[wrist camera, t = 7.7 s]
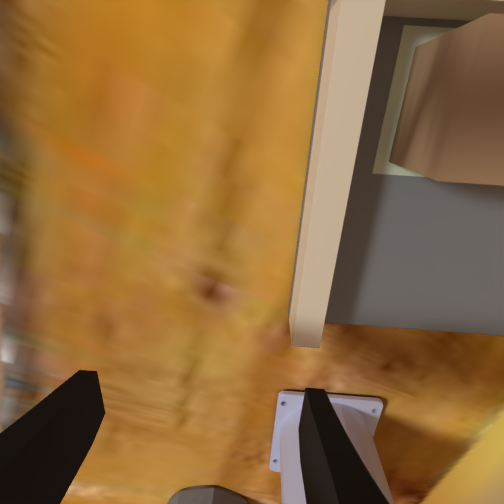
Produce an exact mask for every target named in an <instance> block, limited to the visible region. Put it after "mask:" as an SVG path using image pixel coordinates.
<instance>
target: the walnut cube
mask: <svg viewBox="0 0 504 504" xmlns="http://www.w3.org/2000/svg"><path fill="white" fill-rule="evenodd" d="M389 162H390V163H392V164H395V165H397V166H400V167H403V168H405V169H408V170H410V171H413V172H416V173H418V174H421V175H423V176H426V177H429V178H431V179H434V180H436V181H443V182H457V183H472V184H487V185H501V186H504V14H495V13H489V14H487V15H485V16H483V17H480V18H478V19H476V20H474V21H472V22H469V23H467V24H465V25H463V26H461V27H458V28H456V29H454V30H452V31H450V32H448V33H445V34H443V35H441V36H439V37H437V38H434V39H432V40H430V41H428V42H426V43H423V44H421V45H419V46H417V47H416V48H415V52H414V56H413V60H412V65H411V69H410V73H409V77H408V82H407V86H406V90H405V94H404V99H403V103H402V107H401V111H400V116H399V120H398V124H397V128H396V133H395V137H394V141H393V145H392V150H391V154H390V158H389Z"/></svg>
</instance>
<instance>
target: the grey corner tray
mask: <svg viewBox="0 0 504 504" xmlns="http://www.w3.org/2000/svg"><path fill="white" fill-rule="evenodd" d="M489 13H495V14H504V0H329V1H328V9H327V17H326V25H325V32H324V40H323V48H322V56H321V63H320V71H319V79H318V87H317V94H316V102H315V110H314V118H313V125H312V133H311V141H310V149H309V156H308V164H307V172H306V180H305V187H304V195H303V203H302V211H301V218H300V226H299V234H298V242H297V249H296V257H295V265H294V273H293V280H292V288H291V296H290V304H289V311H288V314H289V323H290V333H291V342H292V346H297V347H311V348H320V343H321V337H322V332H323V327H324V323H337V324H351V325H364V326H378V327H391V328H404V329H418V330H431V331H445V332H458V333H471V334H485V335H498V336H504V186H501V185H487V184H472V183H457V182H443V181H436V180H434V179H431V178H429V177H426V176H423V175H421V174H418V173H416V172H413V171H410V170H408V169H405V168H403V167H400V166H397V165H395V164H392V163H390V162H389V158H390V154H391V150H392V145H393V141H394V137H395V133H396V128H397V124H398V120H399V116H400V111H401V107H402V103H403V99H404V94H405V90H406V86H407V82H408V77H409V73H410V69H411V65H412V60H413V56H414V52H415V48H416V47H417V46H419V45H421V44H423V43H426V42H428V41H430V40H432V39H434V38H437V37H439V36H441V35H443V34H445V33H448V32H450V31H452V30H454V29H456V28H458V27H461V26H463V25H465V24H467V23H469V22H472V21H474V20H476V19H478V18H480V17H483V16H485V15H487V14H489Z"/></svg>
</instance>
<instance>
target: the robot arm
mask: <svg viewBox="0 0 504 504" xmlns="http://www.w3.org/2000/svg"><path fill="white" fill-rule="evenodd" d="M284 401H285V402H284ZM382 409H383V402H382V400H381V399H379V398H372V397H359V396H347V395H334V394H327V393H326V391H325V390H324V389H316V388H305V392H296V391H281V392H280V393H279V394H278V400H277V408H276V416H275V423H274V431H273V439H272V446H271V454H270V462H269V468H270V470H272V471H275V472H281V495H282V504H394V501H393V498H392V495H391V492H390V489H389V486H388V483H387V480H386V477H385V473H384V470H383V467H382V464H381V461H380V458H379V455H378V452H377V449H376V446H375V443H374V440H373V436H374V433H375V430H376V427H377V424H378V421H379V418H380V415H381V412H382ZM104 415H105V409H104V404H103V399H102V394H101V389H100V384H99V379H98V374H97V371H86V370H79V371H78V372H77V373H75V374H74V375H73V376H72V377H70V378H69V379H68V380H67V381H65V382H64V383H63V384H62V385H60V386H59V387H58V388H57V389H55V390H54V391H53V392H52V393H51V394H49V395H48V396H47V397H46V398H44V399H43V400H42V401H41V402H40V403H38V404H37V405H36V406H35V407H33V408H32V409H31V410H30V411H28V412H27V413H26V414H25V415H23V416H22V417H21V418H19V419H18V420H17V421H16V422H14V423H13V424H12V425H11V426H9V427H8V428H7V429H5V430H4V431H3V432H1V433H0V504H60V503H61V501H62V499H63V497H64V496H65V494H66V492H67V490H68V488H69V486H70V485H71V483H72V481H73V479H74V477H75V476H76V474H77V472H78V470H79V468H80V466H81V464H82V463H83V461H84V459H85V457H86V455H87V453H88V451H89V450H90V448H91V446H92V444H93V441H94V439H95V437H96V434H97V432H98V430H99V427H100V425H101V422H102V420H103V417H104Z"/></svg>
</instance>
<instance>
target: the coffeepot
mask: <svg viewBox="0 0 504 504" xmlns="http://www.w3.org/2000/svg"><path fill="white" fill-rule="evenodd" d="M168 504H249V503H248V502H247V501H246V500H245V499H244V498H243V497H241V496H240V495H239V494H237V493H235V492H233V491H230V490H227V489H224V488H221V487H216V486H193V487H188V488H185V489H182V490H180V491H178V492H177V493H175V494H174V495H173V496H172V497H171V499H170V500H169V502H168Z"/></svg>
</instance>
